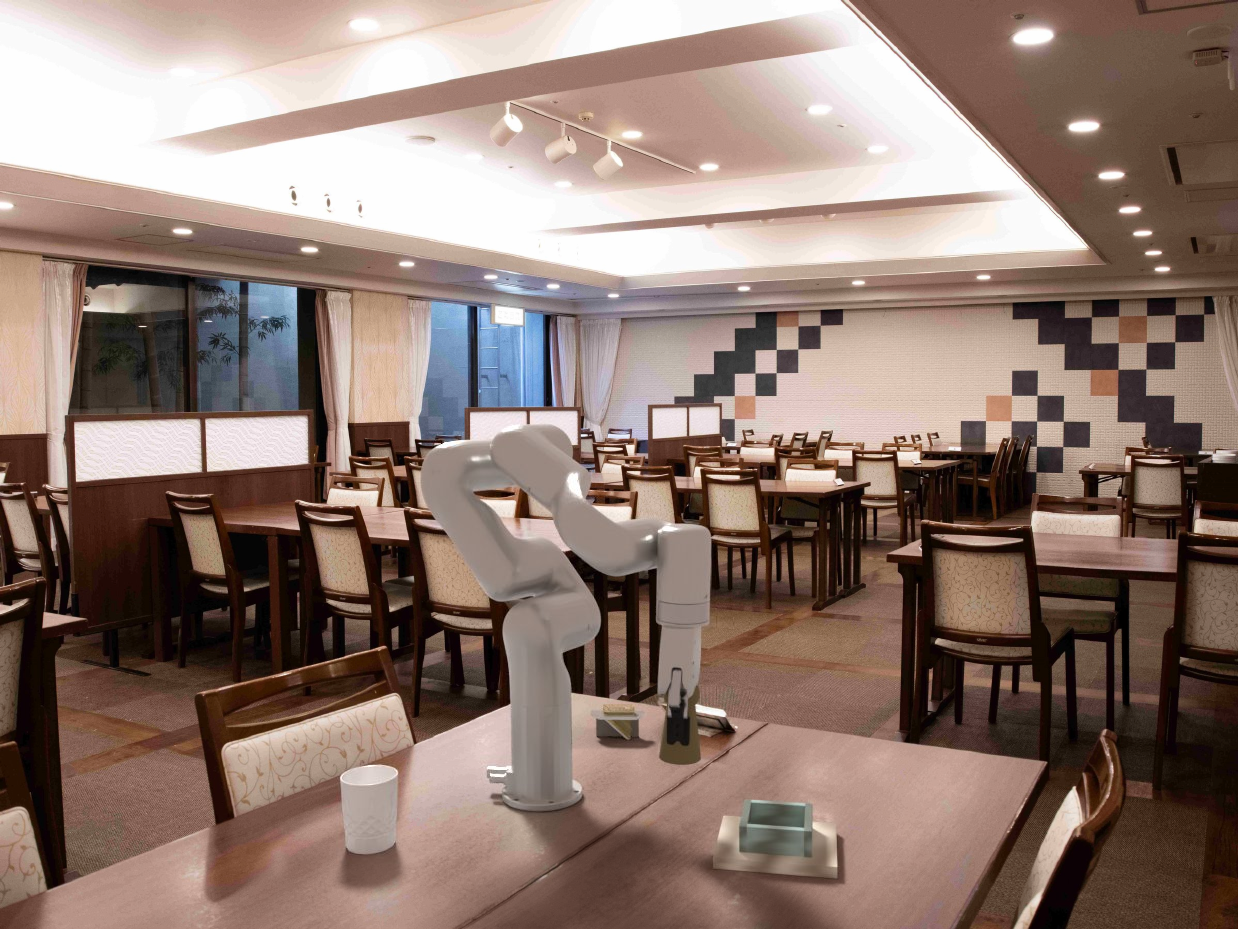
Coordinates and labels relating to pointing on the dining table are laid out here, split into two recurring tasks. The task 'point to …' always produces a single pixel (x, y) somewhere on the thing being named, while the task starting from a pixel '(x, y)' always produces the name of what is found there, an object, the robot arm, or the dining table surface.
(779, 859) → the shaker caddy
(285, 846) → the dining table surface
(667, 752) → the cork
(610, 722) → the platform
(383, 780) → the white cup
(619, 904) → the dining table surface
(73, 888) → the dining table surface
